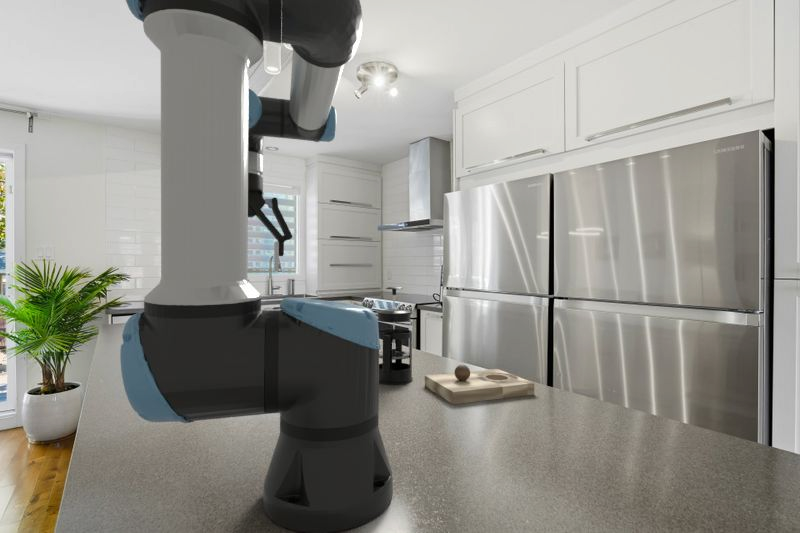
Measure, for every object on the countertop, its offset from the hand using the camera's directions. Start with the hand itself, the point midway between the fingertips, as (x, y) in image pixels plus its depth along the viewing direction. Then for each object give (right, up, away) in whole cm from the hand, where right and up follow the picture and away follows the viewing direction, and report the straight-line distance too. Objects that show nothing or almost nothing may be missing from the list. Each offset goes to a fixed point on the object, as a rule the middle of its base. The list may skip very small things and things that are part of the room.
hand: (244, 270), depth 91 cm
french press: (+33, -27, +11) cm, 44 cm away
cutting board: (+52, -27, +3) cm, 59 cm away
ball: (+48, -23, +1) cm, 53 cm away
